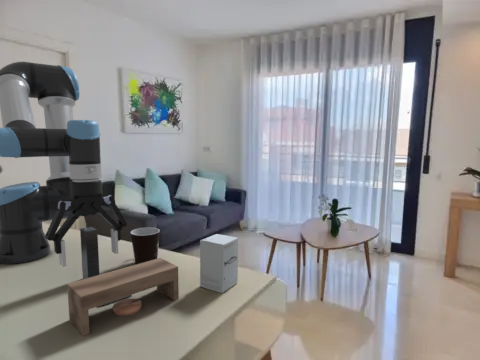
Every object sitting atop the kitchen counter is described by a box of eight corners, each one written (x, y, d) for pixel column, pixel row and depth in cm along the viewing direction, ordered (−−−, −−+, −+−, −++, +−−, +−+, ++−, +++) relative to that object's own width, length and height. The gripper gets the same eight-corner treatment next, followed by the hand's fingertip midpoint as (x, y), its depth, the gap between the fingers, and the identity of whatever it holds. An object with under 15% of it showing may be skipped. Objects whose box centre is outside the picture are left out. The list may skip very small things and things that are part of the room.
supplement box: (222, 294, 83) (222, 244, 81) (199, 286, 86) (198, 239, 85) (238, 283, 89) (238, 237, 87) (216, 276, 93) (216, 232, 91)
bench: (69, 319, 70) (67, 283, 69) (161, 287, 86) (160, 257, 85) (83, 336, 65) (81, 297, 64) (178, 298, 80) (178, 266, 79)
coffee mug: (152, 269, 97) (151, 236, 96) (126, 266, 99) (124, 234, 98) (169, 255, 109) (168, 225, 108) (144, 253, 110) (143, 224, 109)
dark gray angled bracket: (75, 280, 89) (72, 230, 88) (101, 273, 94) (98, 225, 92) (103, 305, 76) (100, 246, 75) (131, 295, 81) (129, 240, 79)
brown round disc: (107, 311, 74) (107, 306, 74) (130, 301, 79) (130, 296, 79) (124, 319, 71) (124, 313, 71) (146, 307, 76) (146, 302, 76)
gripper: (35, 186, 76) (41, 275, 78) (137, 177, 93) (139, 251, 95) (27, 182, 81) (33, 266, 84) (125, 175, 98) (127, 245, 101)
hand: (90, 258), depth 90 cm, fingers open, 13 cm apart
